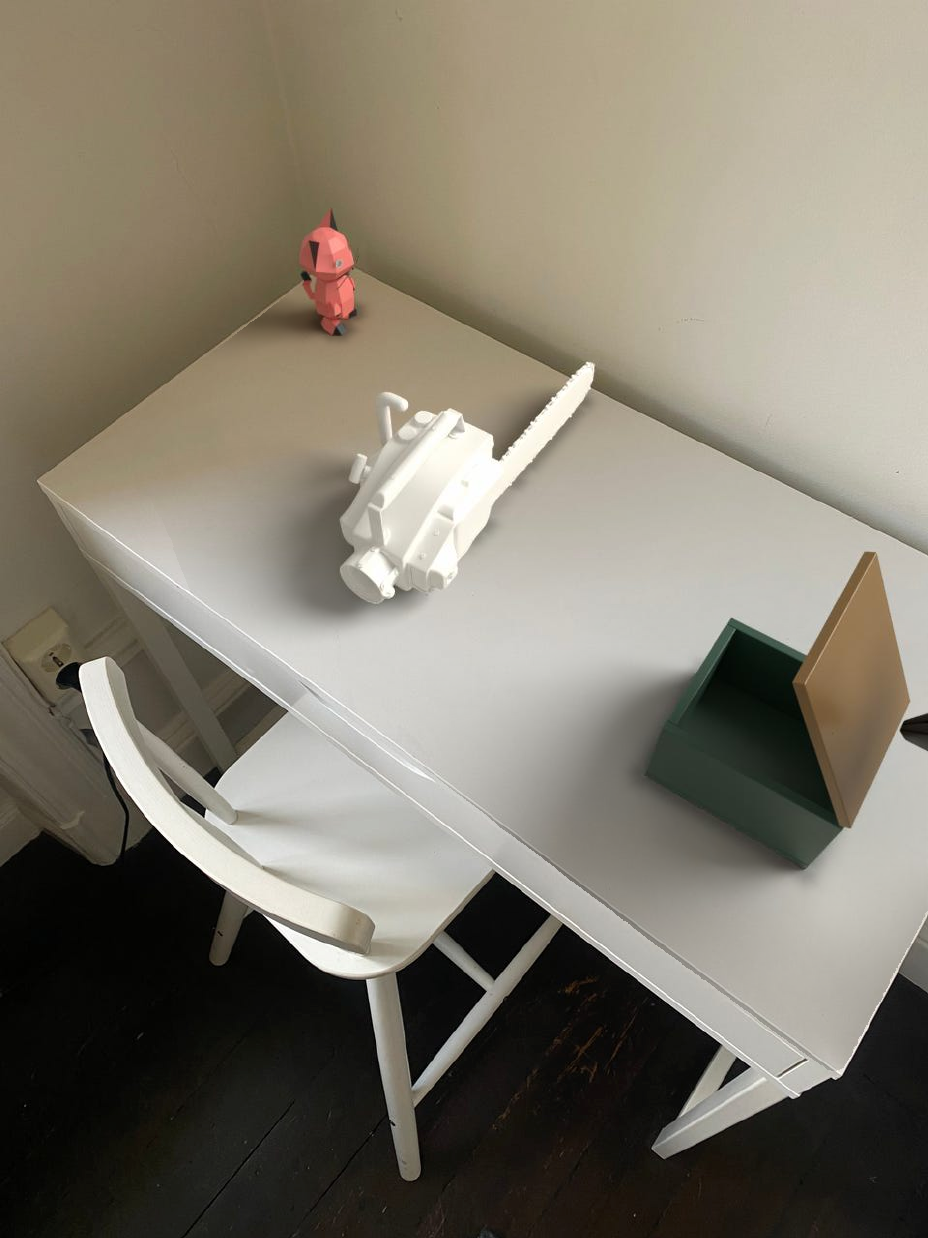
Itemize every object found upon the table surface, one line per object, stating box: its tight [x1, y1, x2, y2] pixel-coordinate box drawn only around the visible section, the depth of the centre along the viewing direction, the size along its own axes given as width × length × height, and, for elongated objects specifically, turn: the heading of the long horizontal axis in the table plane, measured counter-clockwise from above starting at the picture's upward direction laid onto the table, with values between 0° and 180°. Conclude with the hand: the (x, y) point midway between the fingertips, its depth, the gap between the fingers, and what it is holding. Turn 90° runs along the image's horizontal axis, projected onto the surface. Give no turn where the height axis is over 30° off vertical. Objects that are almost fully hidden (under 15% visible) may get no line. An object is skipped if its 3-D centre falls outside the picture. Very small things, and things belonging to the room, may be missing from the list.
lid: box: [792, 550, 911, 830], centre depth 60 cm, size 14×12×1 cm
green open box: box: [644, 617, 845, 870], centre depth 70 cm, size 14×12×8 cm
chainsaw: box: [339, 361, 596, 605], centre depth 85 cm, size 15×35×12 cm, turn 146°
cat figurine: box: [298, 207, 360, 336], centre depth 99 cm, size 7×7×12 cm
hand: (903, 730), depth 60 cm, fingers closed
